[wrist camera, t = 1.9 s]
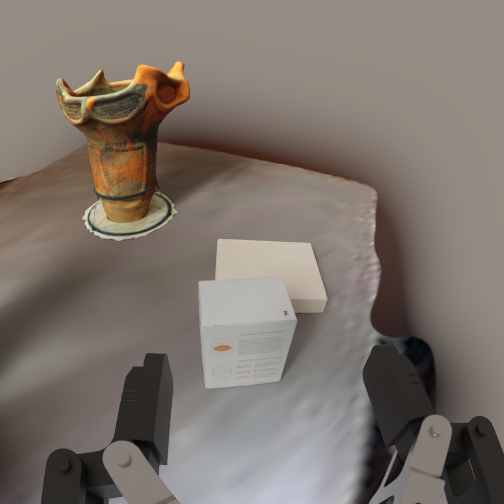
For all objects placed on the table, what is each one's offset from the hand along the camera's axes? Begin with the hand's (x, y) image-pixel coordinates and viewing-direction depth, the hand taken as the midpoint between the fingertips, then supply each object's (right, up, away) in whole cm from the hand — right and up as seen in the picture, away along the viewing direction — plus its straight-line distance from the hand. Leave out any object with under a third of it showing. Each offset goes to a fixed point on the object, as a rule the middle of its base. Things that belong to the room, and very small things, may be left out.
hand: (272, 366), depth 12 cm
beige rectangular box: (+1, 0, +33) cm, 33 cm away
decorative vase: (-23, +11, +45) cm, 52 cm away
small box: (-2, -8, +22) cm, 23 cm away
